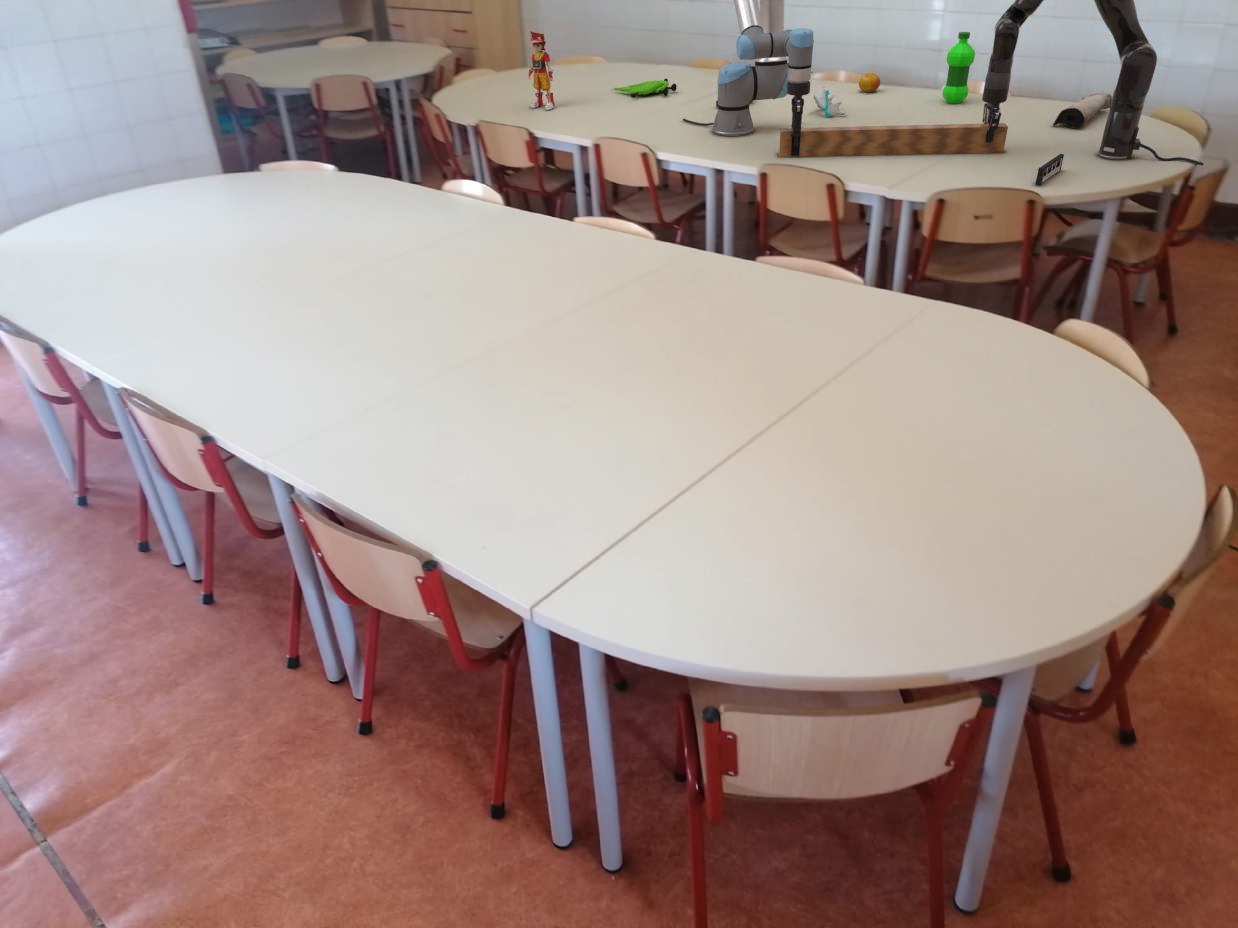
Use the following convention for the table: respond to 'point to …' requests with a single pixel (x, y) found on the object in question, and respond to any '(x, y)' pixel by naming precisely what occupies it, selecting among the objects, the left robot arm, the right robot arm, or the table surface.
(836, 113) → the anatomical model
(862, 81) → the fruit
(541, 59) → the toy
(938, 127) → the wooden plank
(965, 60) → the plastic bottle
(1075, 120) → the rolled mat
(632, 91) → the toy
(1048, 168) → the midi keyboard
